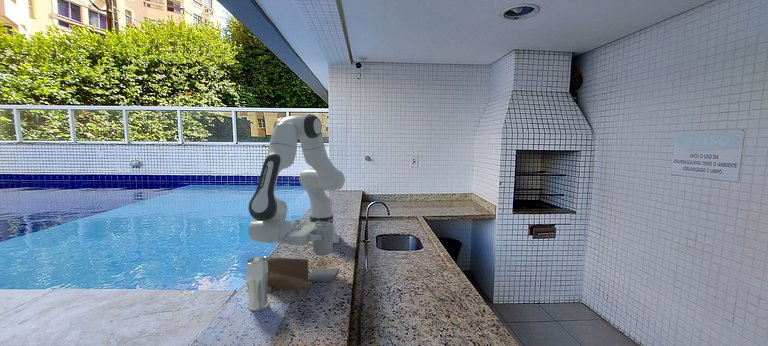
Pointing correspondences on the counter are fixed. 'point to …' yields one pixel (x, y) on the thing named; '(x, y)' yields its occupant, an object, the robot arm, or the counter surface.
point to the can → (326, 243)
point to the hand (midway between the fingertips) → (325, 234)
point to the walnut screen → (288, 275)
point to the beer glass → (257, 282)
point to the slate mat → (322, 275)
